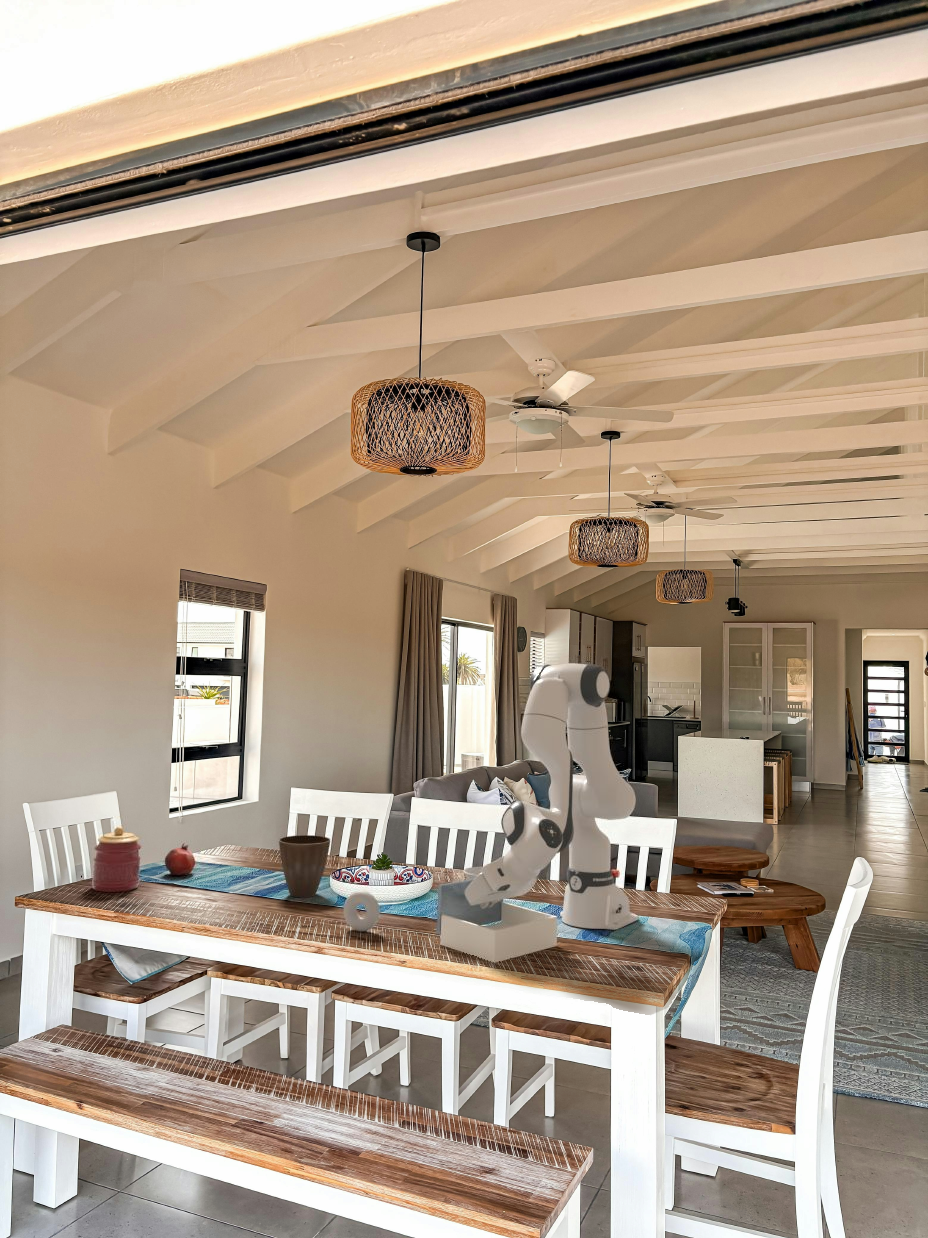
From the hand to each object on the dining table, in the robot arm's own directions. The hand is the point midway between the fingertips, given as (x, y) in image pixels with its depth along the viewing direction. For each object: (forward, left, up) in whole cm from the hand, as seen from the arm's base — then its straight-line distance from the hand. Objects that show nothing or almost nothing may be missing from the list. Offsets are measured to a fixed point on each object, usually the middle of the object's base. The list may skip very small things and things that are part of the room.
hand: (484, 905), depth 220 cm
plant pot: (+9, -66, -9) cm, 67 cm away
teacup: (-25, -23, -9) cm, 35 cm away
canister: (+48, -105, -9) cm, 116 cm away
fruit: (+25, -111, -9) cm, 114 cm away
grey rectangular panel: (0, -5, -6) cm, 8 cm away
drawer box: (0, +5, -8) cm, 10 cm away
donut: (+19, -25, -9) cm, 32 cm away
